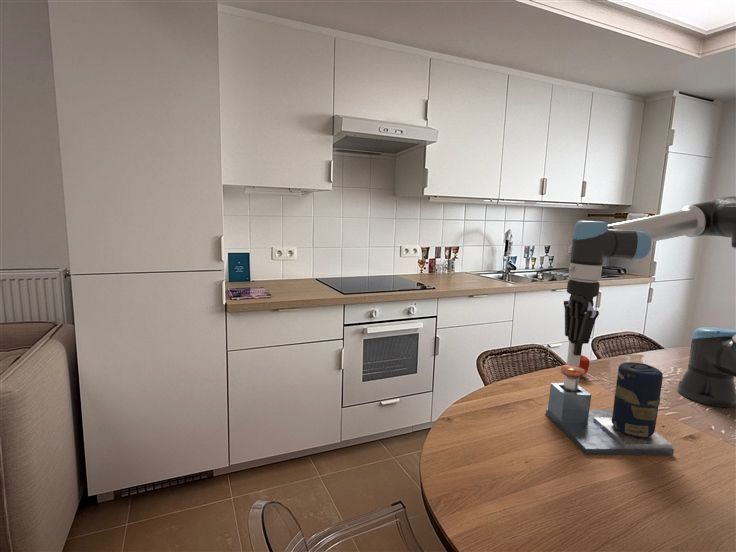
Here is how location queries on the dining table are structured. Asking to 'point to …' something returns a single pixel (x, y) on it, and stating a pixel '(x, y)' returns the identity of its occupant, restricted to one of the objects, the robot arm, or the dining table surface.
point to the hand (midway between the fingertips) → (572, 365)
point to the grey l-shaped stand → (597, 427)
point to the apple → (584, 363)
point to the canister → (637, 398)
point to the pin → (571, 377)
